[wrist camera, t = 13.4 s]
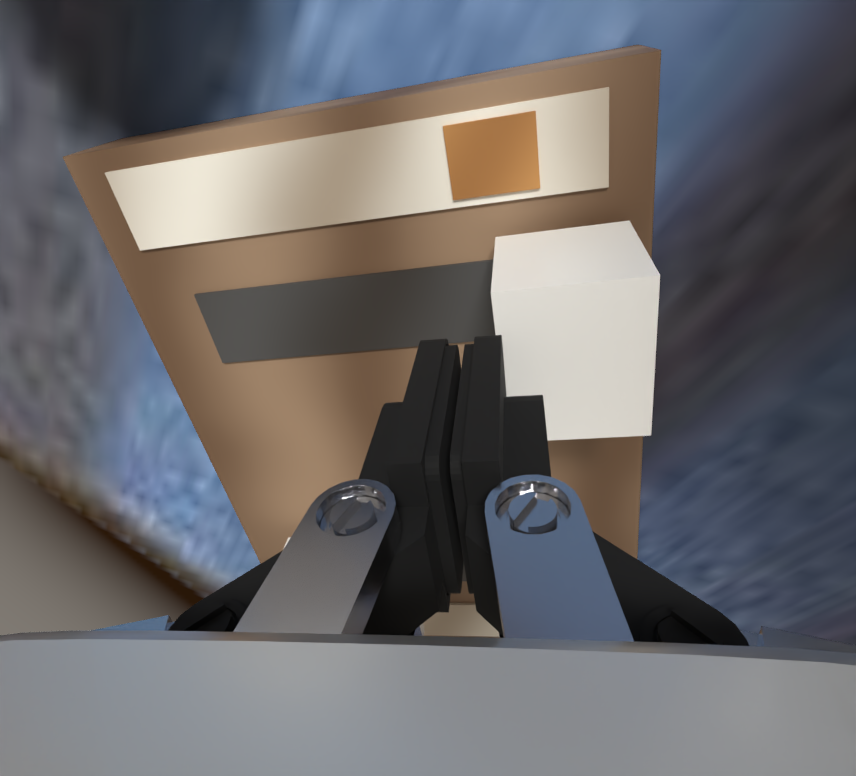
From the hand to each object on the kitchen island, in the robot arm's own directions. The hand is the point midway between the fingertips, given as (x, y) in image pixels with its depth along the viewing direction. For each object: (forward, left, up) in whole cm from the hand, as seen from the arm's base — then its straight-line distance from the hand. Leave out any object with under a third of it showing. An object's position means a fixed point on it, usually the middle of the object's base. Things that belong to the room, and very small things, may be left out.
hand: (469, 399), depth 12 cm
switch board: (+3, +5, -6) cm, 8 cm away
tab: (-2, 0, -3) cm, 4 cm away
